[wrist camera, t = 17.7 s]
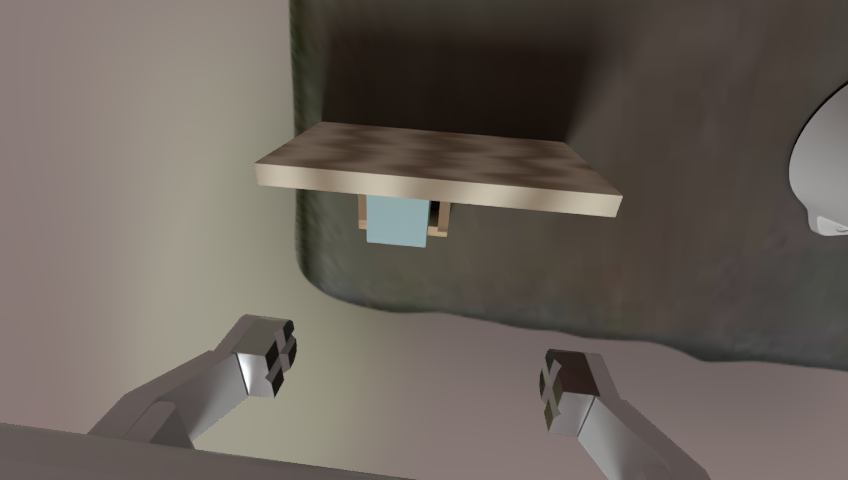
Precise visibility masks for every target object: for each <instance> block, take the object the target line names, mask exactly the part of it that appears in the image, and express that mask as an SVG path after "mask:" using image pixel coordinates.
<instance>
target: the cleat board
mask: <svg viewBox="0 0 848 480" xmlns="http://www.w3.org/2000/svg"><path fill="white" fill-rule="evenodd" d="M254 166H255V172H256V178H257V184H258V185H266V186H277V187H288V188H299V189H310V190H321V191H332V192H343V193H354V194H358V206H359V229H367V197H366V195H376V196H387V197H398V198H409V199H420V200H431V201H440V207H439V211H436V210H430V217H429V224H428V232H427V235H433V236H444V237H447V230H448V221H449V212H450V203H451V202H453V203H464V204H475V205H486V206H498V207H509V208H520V209H531V210H542V211H553V212H564V213H575V214H586V215H597V216H608V217H615V216H616V214H617V211H618V208H619V205H620V202H621V200H622V197H623V196H622V195H621V194H620V193H619V192H618V191H617V190H616V189H615V188H614V187H612V186H611V185H610V184H609V183H608V182H607V181H606V180H605V179H604V178H603V177H602V176H600V175H599V174H598V173H597V172H596V171H595V170H594V169H593V168H592V167H591V166H590V165H588V164H587V163H586V162H585V161H584V160H583V159H582V158H581V157H580V156H579V155H578V154H576V153H575V152H574V151H573V150H572V149H571V148H570V147H569V146H568V145H567V144H566V143H564V142H556V141H544V140H532V139H521V138H509V137H497V136H485V135H474V134H462V133H450V132H439V131H427V130H415V129H403V128H392V127H380V126H368V125H356V124H345V123H333V122H320V123H318V124H317V125H315V126H313V127H312V128H310V129H309V130H307V131H305V132H304V133H302V134H300V135H299V136H297V137H296V138H294V139H292V140H291V141H289V142H288V143H286V144H284V145H283V146H281V147H279V148H278V149H276V150H275V151H273V152H272V153H270V154H268V155H267V156H265V157H263V158H262V159H260V160H258V161H257V162H255V163H254Z"/></svg>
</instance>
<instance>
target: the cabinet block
mask: <svg viewBox="0 0 848 480" xmlns="http://www.w3.org/2000/svg"><path fill="white" fill-rule="evenodd" d="M366 197H367V242H373V243H384V244H394V245H405V246H416V247H426V239H427V232H428V224H429V217H430V209H431V202H432V201H431V200H420V199H409V198H398V197H387V196H376V195H366Z"/></svg>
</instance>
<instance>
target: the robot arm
mask: <svg viewBox="0 0 848 480" xmlns="http://www.w3.org/2000/svg"><path fill="white" fill-rule="evenodd" d="M789 179H790V184H791V187H792V189H793V192H794V193H795V195H796V196H797V198H798V199H799V200H800V201H801V202H802V203H803V204H804V205H805V207H806V208H807V210H808V219H809V225H810V228H811V230H812V231H814V232H816V233H819V234H821V235H825V236H832V235H846V234H848V85H846V86H845V87H844V88H842V89H841V90H840V91H839V92H837V93H836V94H835V95H834V96H833V97H832V98H830V99H829V100H828V101H827V102H826V103H825V104H824V105H823V106H822V107H821V108H820V109H819V110H818V111H817V113H816V114H815V115H814V116H813V117H812V119H811V120H810V121H809V123H808V124H807V125H806V127H805V128H804V130H803V132H802V133H801V135H800V137H799V139H798V141H797V143H796V145H795V147H794V150H793V153H792V156H791V160H790V166H789ZM293 331H294V325H293V321H291V320H287V319H280V318H273V317H265V316H255V315H248V314H246V315H244V316H242V317H241V318H240V319H239V320H238V322H237V323H236V324H235V325H234V327H233V328H232V329H231V330H230V331H229V333H228V334H227V335H226V336H225V338H224V339H223V340H222V341H221V343H220V344H219V345H218V346H217V348H216V349H215V350H214V351H207V352H205V353H203V354H202V355H200V356H198V357H196V358H194V359H192V360H190V361H188V362H186V363H184V364H182V365H180V366H178V367H177V368H175V369H173V370H171V371H169V372H167V373H165V374H163V375H161V376H160V377H158V378H155V379H154V380H152V381H150V382H148V383H146V384H144V385H142V386H140V387H138V388H136V389H134V390H133V391H131V392H129V393H127V394H125V395H124V396H123V397H122V398H121V399H120V400H119V401H118V402H117V403H116V404H115V405H114V406H113V407H112V408H111V409H110V410H109V411H108V412H107V414H106V415H105V416H104V417H103V418H102V419H101V420H100V421H99V422H98V423H97V424H96V425H95V426H94V427H93V428H92V429H91V430H90V431H89V432H88V433H87V434H79V433H72V432H65V431H58V430H50V429H43V428H36V427H28V426H21V425H14V424H7V423H0V480H414V479H407V478H400V477H392V476H385V475H377V474H371V473H363V472H356V471H348V470H341V469H334V468H327V467H320V466H312V465H305V464H297V463H291V462H283V461H276V460H268V459H261V458H254V457H247V456H240V455H232V454H225V453H218V452H209V451H203V450H196V449H195V448H194V446H193V443H192V441H193V440H194V439H195V438H197V437H198V436H199V435H200V434H202V433H203V432H204V431H206V430H207V429H208V428H209V427H211V426H212V425H213V424H214V423H216V422H217V421H218V420H219V419H221V418H222V417H223V416H224V415H226V414H227V413H228V412H230V411H231V410H232V409H233V408H235V407H236V406H237V405H238V404H240V403H241V402H242V401H243V400H245V399H246V398H247V397H248V396H259V397H268V398H275V396H276V395H277V393H278V391H279V389H280V387H281V385H282V383H283V381H284V376H283V373H284V372H286V371H287V370H289V369H290V368H291V366H292V364H293V362H294V360H295V356H296V352H297V343H296V339H295V338H294V337H293V336H292V335H291V334H292V332H293ZM545 360H546V364H547V365H545V366H544V367H542V369H541V373H540V380H539V388H540V395H541V399H542V400H543V401H544V403H545V404H546V407H545V410H544V415H545V419H546V424H547V429H548V432H549V433H554V434H561V435H566V436H573V437H578V440H579V441H580V443H581V444H582V445H583V447H584V448H585V449H586V450H587V452H588V453H589V454H590V456H591V457H592V458H593V459H594V461H595V462H596V463H597V465H598V466H599V467H600V469H601V470H602V471H603V473H604V474H605V475H606V477H607V478H608V479H609V480H711V479H710V477H709V476H708V474H707V472H706V470H705V469H703V468H702V467H701V466H700V465H699V464H698V463H697V462H695V461H694V460H693V459H692V458H691V457H690V456H689V455H688V454H686V453H685V452H684V451H683V450H682V449H681V448H680V447H678V446H677V445H676V444H675V443H674V442H673V441H672V440H671V439H669V438H668V437H667V436H666V435H665V434H664V433H663V432H661V431H660V430H659V429H658V428H657V427H656V426H655V425H653V424H652V423H651V422H650V421H649V420H648V419H647V418H646V417H644V416H643V415H642V414H641V413H640V412H638V410H636V409H635V408H634V407H633V406H632V405H631V404H630V403H629V402H627V401H626V400H621V399H620V397H619V394H618V392H617V390H616V387H615V385H614V383H613V381H612V379H611V376H610V374H609V372H608V369H607V367H606V365H605V362H604V360H603V358H602V356H601V355H600V354H595V353H585V352H582V353H581V352H575V351H564V350H555V349H549V350H548V351H547V353H546V356H545ZM247 395H248V396H247Z"/></svg>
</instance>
